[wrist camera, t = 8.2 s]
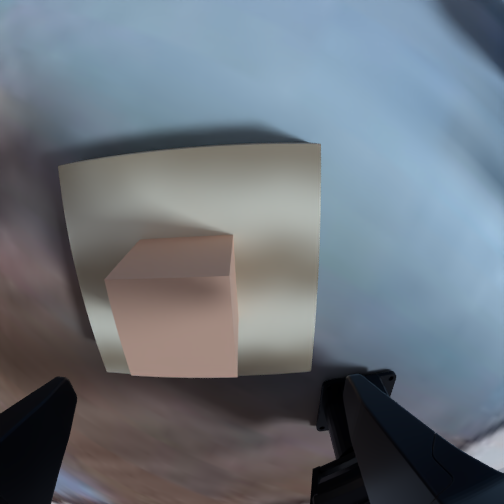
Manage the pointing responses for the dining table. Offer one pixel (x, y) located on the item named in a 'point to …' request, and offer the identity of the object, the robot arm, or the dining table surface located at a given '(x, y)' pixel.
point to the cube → (177, 307)
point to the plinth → (208, 224)
